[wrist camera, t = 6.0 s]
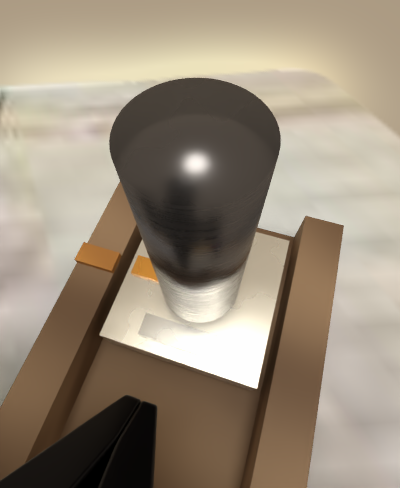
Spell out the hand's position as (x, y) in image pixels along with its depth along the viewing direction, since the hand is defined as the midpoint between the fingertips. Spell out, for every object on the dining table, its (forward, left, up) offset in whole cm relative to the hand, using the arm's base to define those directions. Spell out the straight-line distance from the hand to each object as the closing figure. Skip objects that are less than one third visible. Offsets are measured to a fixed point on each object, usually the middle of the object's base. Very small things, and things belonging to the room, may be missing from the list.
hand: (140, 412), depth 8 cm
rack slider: (+4, +2, -5) cm, 7 cm away
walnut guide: (+2, +1, -6) cm, 6 cm away
